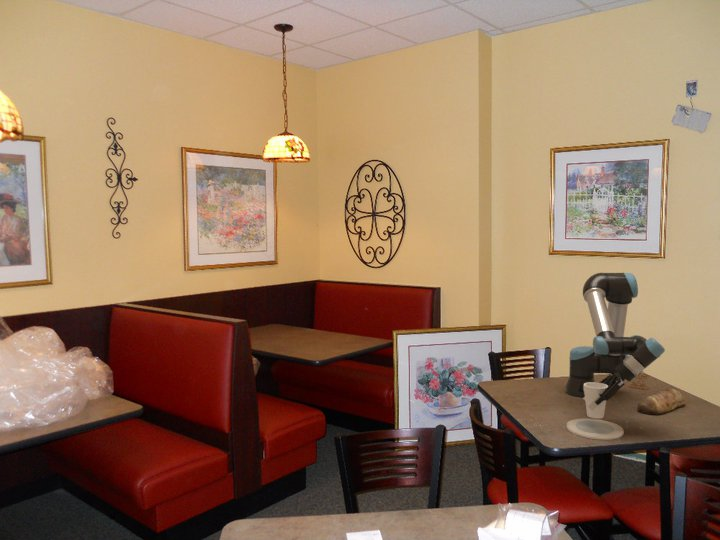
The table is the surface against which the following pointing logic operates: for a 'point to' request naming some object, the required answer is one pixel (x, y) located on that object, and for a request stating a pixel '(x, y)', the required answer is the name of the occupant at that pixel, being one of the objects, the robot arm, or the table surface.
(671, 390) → the bread loaf
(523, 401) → the table surface
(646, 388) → the gingerbread man figurine
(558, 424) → the table surface
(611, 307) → the robot arm
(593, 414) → the foam cup
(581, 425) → the plate
